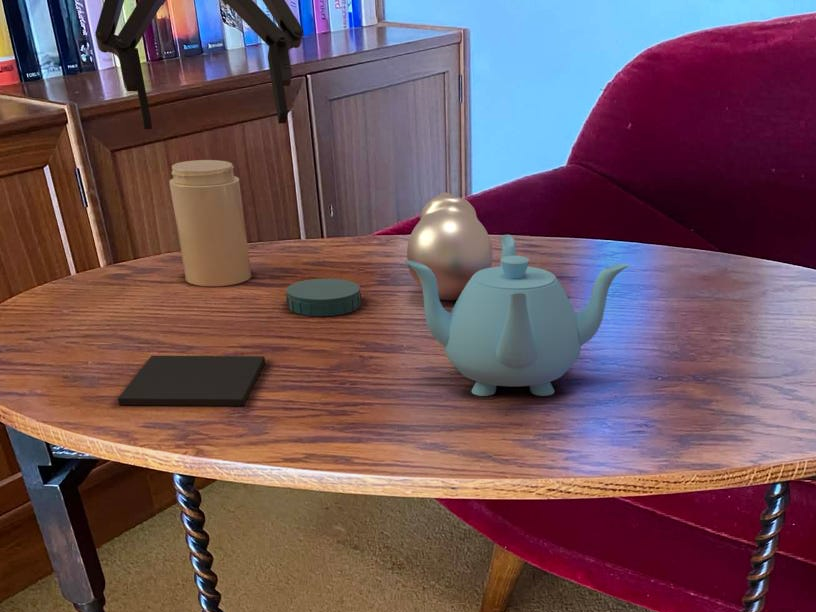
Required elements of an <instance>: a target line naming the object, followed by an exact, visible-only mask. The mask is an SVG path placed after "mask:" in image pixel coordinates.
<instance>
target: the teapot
mask: <svg viewBox="0 0 816 612" xmlns="http://www.w3.org/2000/svg"><path fill="white" fill-rule="evenodd" d="M515 241H516V240H515V238H514V237H513V236H512V235H511V234H504V235H503V236H502V238H501V255H500V256H501V257H500V259H499V260H500V262H499V263H500V264H499V266H491V268H486V269H483V270H480V271H478V272H476V273H475V274H474V275H473V276H472V278H471V279H470V280H469V282H468V283H467V285H466V286H465V288H464V290H463V291H462V293H461V295H460V296H459V298H458V300H455V303H454V305H453V308H452V310H451V312H448V311H447V310H446V309H445V308H444V306H443V305H442V303H441V299H439V295H438V286H437V280H436V277H435V275H434V273H433V272H432V270H431V269H430V268H428V267H427V266H425V265H423V264H420V263H417V262H414V261H410V260H407V259H404V262H405V263H406V264H407V266H408V265H409V266H410V267H411V268H412V269H413V270H414V271H415V272H416V273H417V275H418V277H419V278H420V281H421V284H422V288H423V289H422V288H421V289H422V294H423V311H424V319H425V323H426V326H427V328H428V331H429V333H430V334H431V335H432V337H433V338H434V340H436V341H437V342H438V343H440V344H441V345H442V346H443V347H444V352H445V355H446V357H447V359H448V360H449V361H450V363H451V364H452V365H453V366H454V367H455V369H456V370H457V372H459V373H460V374H461V375H462V376H463V377H465V378H467V379H470V380H472V381H474V385H473V387H472V389H471V394H473V395H476V396H479V397H488V396H489V397H490V396H492V395H495V394H496V392H497V388H498V387H497V386H499V387H528V388H529V391H530V393H531V394H532V395H535V396H541V397H546V396H551V395H554V393H555V389H554V387H553V385H552V383H551V382H553V381H555V380H558V379H560V378H561V377H562V376H564V375H565V373H567V372H568V371H569V370H570V369H571V368H572V367H573V365H574V364H575V363H576V362H577V361H578V359H579V357H580V354H581V351H582V350H581V349H582V346H583V345H585V344H586V343H588V342H589V341H590V340H591V339H592V338H593V337H594V336H596V334H597V333H598V331H599V329H600V327H601V324H602V322H603V318H604V314H605V310H606V309H605V308H606V303H607V297H608V293H609V290H610V287H611V285H612V282H613V281H614V280H615V278H616V277H617V276H618V274H620V273H621V272H622V271H623V270H625V269H626V268H627V267H629V263H619V264H614V265H611V266H608V267H607V266H606V267H605V268H604V269H602V270H601V271H600V272H599V273H598V275H597V276H596V278H595V280H594V283H593V286H592V290H591V293H590V298H589V300H588V302H587V304H586V305H585V307H583V308H582V309H581V310H580V311H578V312H577V313H576V312H575V309H574V307H573V305H572V303H571V301H570V299H569V297H568V295H567V293H566V291H565V289H564V287H563V286H562V284H561V283H560V281H559V279H558V278H557V277H556V276H555V274H554V273H552V272H551V271H549V270H546V269H543V268H538V267H533V266H529V263H530V258H528V257H526V256H524V255H523V256H522V255H517V249H516V248H517V247H516V242H515ZM409 266H408V267H409Z"/></svg>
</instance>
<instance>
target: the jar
mask: <svg viewBox="0 0 816 612" xmlns="http://www.w3.org/2000/svg"><path fill="white" fill-rule="evenodd" d="M234 169H235V165H233V163H232V162H230V161H226V160H219V159H218V160H217V159H200V160H198V159H197V160H186V161H180V162H177V163H174V164H172V165H171V175H172V178H171V179H170V180H169V182H168V184H169V189H170V195H171V200H172V206H173V212H174V213H173V214H174V218H175V225H176V231H177V237H178V243H179V249H180V255H181V256H180V257H181V262H182V266H183V273H184V279H185V282H187V283H188V284H191V285H195V286H199V287H227V286H232V285H233V286H234V285H238V284H243V283H244V282H247V281H249V280H250V279H251V278H252V269H251V268H252V267H251V261H250V254H249V252H250V251H249V245H248V237H247V229H246V221H245V214H244V207H243V206H244V205H243V197H242V191H241V183H240V181H241V180H240V178H239V177H238V176H236V175H235V174H234Z"/></svg>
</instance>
